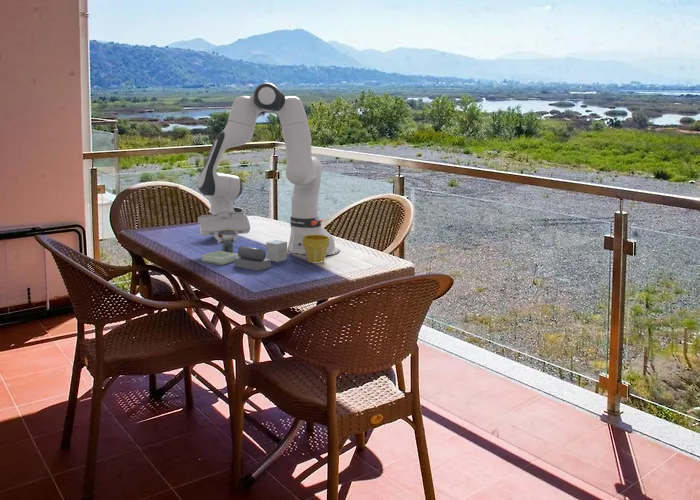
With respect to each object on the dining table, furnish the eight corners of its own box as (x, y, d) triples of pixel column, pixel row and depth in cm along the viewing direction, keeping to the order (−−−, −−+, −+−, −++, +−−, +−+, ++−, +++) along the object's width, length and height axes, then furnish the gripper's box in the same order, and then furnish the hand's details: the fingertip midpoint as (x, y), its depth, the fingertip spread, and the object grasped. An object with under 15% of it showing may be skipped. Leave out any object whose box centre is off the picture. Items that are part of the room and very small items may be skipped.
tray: (238, 259, 266) (238, 253, 265) (221, 265, 258) (221, 258, 257) (219, 256, 271) (219, 250, 270) (201, 261, 262) (201, 255, 262)
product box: (265, 260, 267) (265, 242, 265) (275, 257, 272) (275, 239, 270) (277, 262, 264) (277, 244, 262) (287, 259, 268) (287, 241, 267)
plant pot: (328, 258, 272) (329, 234, 270) (328, 264, 262) (329, 239, 260) (303, 257, 272) (303, 234, 269) (302, 264, 261) (302, 239, 259)
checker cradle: (270, 266, 256) (270, 248, 255) (259, 270, 250) (259, 251, 249) (246, 262, 262) (245, 244, 261) (234, 266, 256) (233, 247, 255)
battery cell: (235, 254, 275) (235, 228, 272) (228, 256, 271) (227, 230, 268) (227, 253, 277) (226, 227, 274) (219, 255, 273) (219, 229, 271)
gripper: (197, 210, 272) (202, 239, 266) (247, 208, 280) (253, 236, 273) (196, 219, 277) (201, 248, 271) (245, 217, 285) (251, 244, 278)
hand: (227, 242), depth 272 cm, fingers closed on battery cell, 4 cm apart
